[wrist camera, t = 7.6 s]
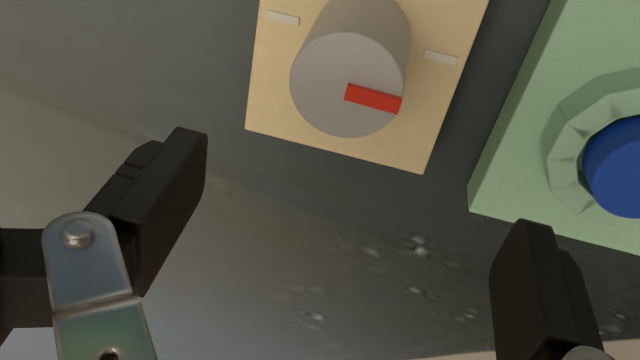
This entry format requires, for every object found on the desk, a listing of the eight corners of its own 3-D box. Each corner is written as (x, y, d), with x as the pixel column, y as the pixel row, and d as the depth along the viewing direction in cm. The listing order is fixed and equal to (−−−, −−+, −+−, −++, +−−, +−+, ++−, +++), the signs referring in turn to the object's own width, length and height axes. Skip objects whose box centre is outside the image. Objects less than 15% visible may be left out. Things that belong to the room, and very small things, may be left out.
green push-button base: (566, -36, 22) (588, -9, 19) (805, 22, 22) (869, 60, 19) (466, 187, 29) (469, 234, 26) (644, 233, 29) (670, 287, 26)
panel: (295, -159, 21) (276, -153, 19) (515, -106, 21) (526, -93, 19) (260, 101, 28) (243, 131, 26) (423, 143, 28) (422, 177, 26)
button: (611, 104, 22) (623, 126, 20) (709, 129, 21) (728, 152, 20) (565, 182, 24) (573, 205, 23) (653, 204, 24) (667, 229, 22)
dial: (305, 67, 24) (278, 126, 19) (325, -24, 21) (298, 20, 17) (393, 91, 23) (384, 155, 19) (422, 3, 21) (419, 54, 17)
